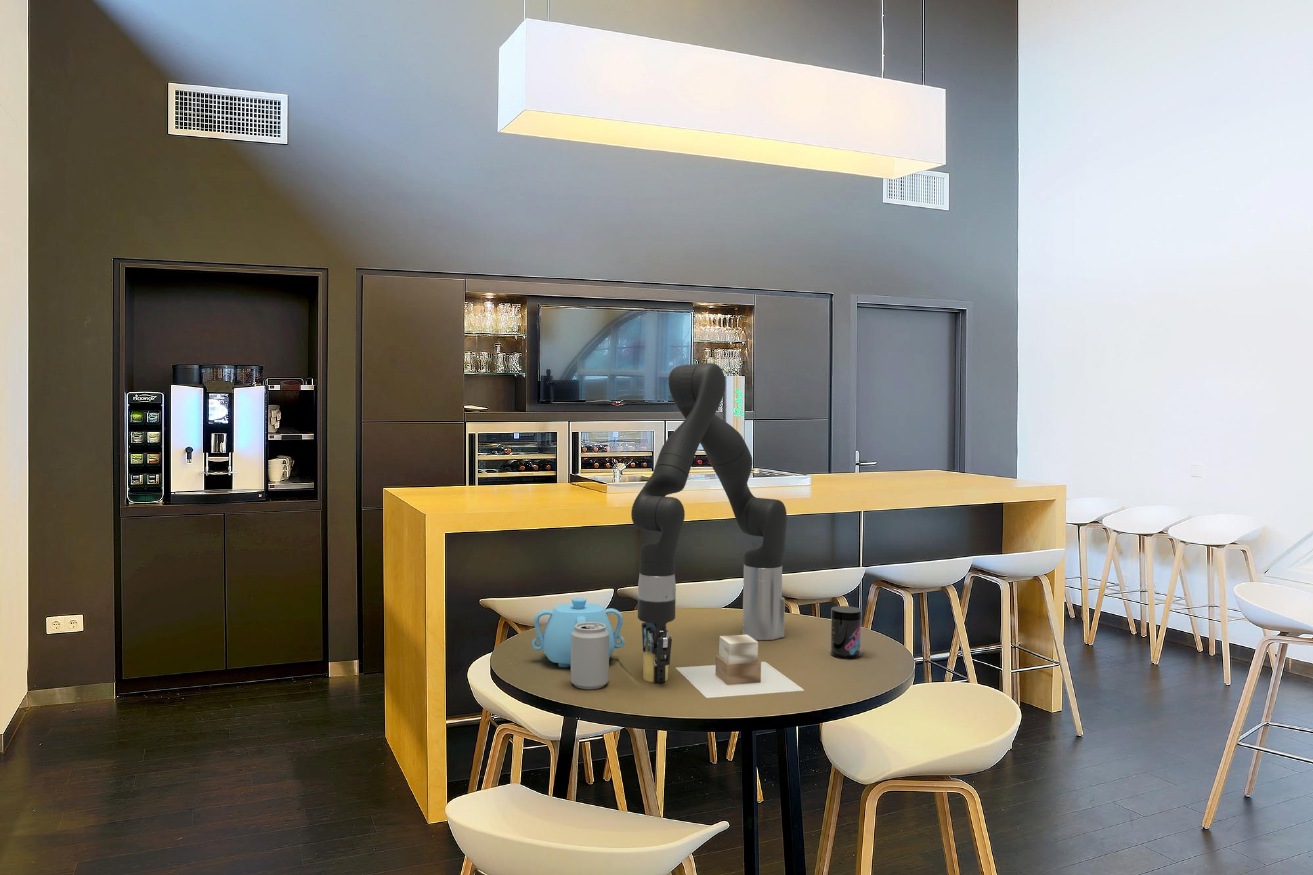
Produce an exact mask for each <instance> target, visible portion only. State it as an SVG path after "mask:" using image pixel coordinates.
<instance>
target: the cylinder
mask: <svg viewBox="0 0 1313 875" xmlns="http://www.w3.org/2000/svg"><path fill="white" fill-rule="evenodd" d="M642 654H643V656H642V659H643V660H642V661H643V662H642V663H643V666H642V667H643V668H642V679H643V681H646V682H648V683H649V682H650V683H654V664H653V655H652V654H651V653H650V651H646V652H643V653H642ZM660 659H663V655H662V656H661V658H660ZM667 681H669V665H667V666H665V682H667Z"/></svg>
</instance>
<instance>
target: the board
mask: <svg viewBox="0 0 1313 875" xmlns="http://www.w3.org/2000/svg"><path fill="white" fill-rule="evenodd" d="M760 662H761V683H749V684H735V685H727V684H726V683H724V682H723V681H722V680H721V679H720V678H719V677H718V676H716V675H715V674H716V664H712V665H710V664H709V665H695V666H681V667H675V669H676V671H678V672H679V673H680V674H681V675H682V676H683V677H684V678H685V679H687V681H688V682H689V683H690V684H692V685H693V687H695V689H697V690H698V691H699V692H700V693H701V694H702V696H703V697H705V698H706V699H713V698H714V699H715V698H726V697H727V698H728V697H740V696H752V695H753V696H754V695H755V696H756V695H765V694H766V695H767V694H777V693H790V692H792V693H793V692H803V691H806V690H805V689H803V687H801V686H799V685H798V684H797V683H795V682H794V681H793V680H791V679H790V678H789V677H787V676H785V675H784V674H783V673H782V672H780V671H778V669H776V668H775V667H773V666H772V665H770V664H769V663H768V662H766V661H760Z"/></svg>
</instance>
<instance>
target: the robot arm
mask: <svg viewBox="0 0 1313 875" xmlns="http://www.w3.org/2000/svg"><path fill="white" fill-rule="evenodd" d="M668 375H669V376H668V387H669V392H670V396H671V398H672V400H673V402H674V404H675V405H676V408H678V410H679V411H680V413H681V414H682V416H683V417H684V420H683V421H682V423H681V424H680V425H679V426H678V427H677V428H676V429H675V430H674V431H673V432H672V434H671V435H670V436H669V437H668V438H667V440H665V441H664V444H663V445H662V447H661V450H660V451H659V454H658V457H657V460H656V463H655V466H654V469H653V471H652V474H651V475H650V477H649V478H648V479H647V481H646V483H645V484H644V486H643V487H642V488H641V490H640V492H639V493H638V494H637V495H636V497H635V499H634V502H633V503H632V506H631V510H630V511H631V513H630V514H631V521H632V524H633V525H634V527H635V528H636V529H638V530H641V531H646V532H647V531H648V532H656V533H657V532H658V533H659V532H660V537H659V540H658V541H654V542H649V543H644V544H643V545H642V546H641V547H640V549H639V574H638V575H639V577H638V582H637V583H638V585H637V619H638V620H639V621H641V637H642V652H643V653H644V652H646V651H650V653H651V654H652V655H653V664H654V682H653V684H663V683H664V684H665V683H666V681H665V666H667V665H668V666H670V663H671V650H672V641H673V639H672V636H669V630H668V629H667V624H668V623H671V622H673V621H674V620H675V619H676V601H677V600H676V597H677V596H676V595H677V594H676V592H677V587H676V584H677V582H676V576H675V575H676V574H675V573H676V571H675V570H676V569H675V568H676V552H677V548H678V547H677V546H678V542H679V539H680V535H681V531H682V529H683V526H684V521H685V514H686V513H685V512H686V511H685V508H684V505H683V502H682V501H681V500H680V499H679V498H677V497H673V496H669V495H673V494H676V493H677V494H678V493H680V492H681V491H683V490H684V488H685V486H686V484H687V481H688V478H689V475H690V472H691V468H692V464H693V462H694V459H695V456H696V453H697V451H698V448H699V447H700V445H701V448H702V449H703V451H704V453H705V454H706V455H705V456H706V458H707V459H708V461H709V464H710V465H711V467H712V470H713V471H714V472H715V474H716V476H717V478H718V480H719V482H720V484H721V487H722V489H723V490H724V492H725V495H726V497H727V499H728V502H729V504H730V507H731V509H732V510H731V511H732V512H733V515H734V517H735V520H736V523H737V525H738V527H739V529H740V530H741V531H742V532H743V533H744V534H746V535H747V536H752V537H753V536H754V537H762V542H761V545H760V546H759V547H758V548H754V549H751V550H748V551H746V552H745V553H744V554H743V587H742V590H743V591H742V592H743V594H742V595H743V597H742V635H748V636H750V637H751V638H753V639H754V640H756V641H772V640H779V639H780V638H785V617H786V616H785V615H786V613H785V609H786V608H785V607H786V598H785V597H784V596H783V592H782V591H783V562H784V559H783V558H784V555H785V551H786V550H785V548H786V538H787V537H786V536H787V535H786V534H787V523H788V522H787V521H788V520H787V519H788V518H787V517H788V515H787V513H788V512H787V509H786V505H785V503H784V502H783V501H781V500H780V499H776V498H775V499H774V498H765V497H763V498H762V497H757V496H754V495H753V493H752V492H751V490H750V488H749V485H748V482H749V479H750V476H751V473H752V471H753V470H752V469H753V457H752V454H751V451H750V450H749V447H748V445H747V443H746V441H745V439H744V437H743V436H742V434H741V433H740V432H739V431H738V430H737V429H736V428H734V427H733V426H732V425H731V424H730V423H728V422H726V420H724V419H723V418H721V417H719V416H718V415H717V414H716V413H717V411H718V409H719V407H720V405H721V403H722V400H723V398H724V394H725V391H726V378H725V374H724V371H723V369H722V368H721V367H720V365H718V364H716V363H714V362H713V363H712V362H705V363H690V364H682V365H679V366H676V367H674V368H673V369H672V370H671V371H670V373H669V374H668ZM662 655H663V659H660V658H661V656H662Z"/></svg>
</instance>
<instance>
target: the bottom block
mask: <svg viewBox="0 0 1313 875" xmlns="http://www.w3.org/2000/svg"><path fill="white" fill-rule="evenodd" d="M761 662H762V661H760V660H758V662H752V663H737V664H729V663H727V662H726V661H725V660H724V659H722V658H721V657H720V656H719V654H715V665H716V674H715V675H716V676H718V677H719V678H720V679H721V680H722V681H723V682H724V683H726V684H727V685H735V684H749V683H761Z"/></svg>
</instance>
